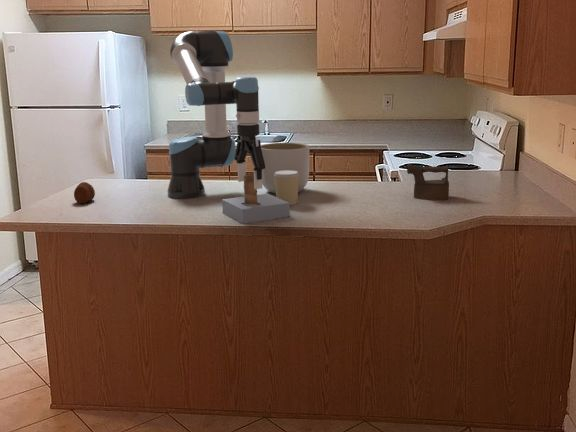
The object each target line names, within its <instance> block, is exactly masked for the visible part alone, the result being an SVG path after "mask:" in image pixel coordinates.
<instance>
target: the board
mask: <svg viewBox="0 0 576 432" xmlns="http://www.w3.org/2000/svg"><path fill="white" fill-rule="evenodd" d="M221 203H222V205H221V206H222V207H221V208H222V214H223V215H226V216H228V217H229V218H231V219H234V220H235V221H237V222H239V223H240V224H243V225H244V224H250V223H257V222H265V221H270V220H276V218H277V219H283V218H282V217H284V218H289V217H288V216H290V217H291V215H290V205H289V202H286V201H284V200H281V199H279V198H277V197H276V196H274V195H272V194H270V193H260V194H257V203H258V204H257V205H254V206H245V204H244V203H245V198H244V196H239V197H230V198H224V199H223V198H222V199H221Z"/></svg>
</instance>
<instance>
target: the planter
mask: <svg viewBox="0 0 576 432" xmlns="http://www.w3.org/2000/svg"><path fill="white" fill-rule="evenodd" d="M261 150H262V154H263V159H264V163H265V169H263V170H262V187H263V188H264V189H265V190H266V191H268V192H270V193H272V194H275V195H276V187H275V176H274V174H275V172H277V171H282V170H293V171H297V172H298V174H299V176H298V193H300V192H301V191H302V190H303V189H305V187H306V186H307V184H308V182H309V176H310V145H309V144H306V143H302V142H274V143H272V142H271V143H264V144H261Z"/></svg>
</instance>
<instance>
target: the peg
mask: <svg viewBox="0 0 576 432" xmlns="http://www.w3.org/2000/svg"><path fill="white" fill-rule="evenodd" d="M243 191H244V192H243V193H244V194H243V195H244V196H243V197H244V198H245V203H244V204H245V206H254V205H257V204H258V203H257V195H258V189H254V174H246V175H244V181H243Z"/></svg>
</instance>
